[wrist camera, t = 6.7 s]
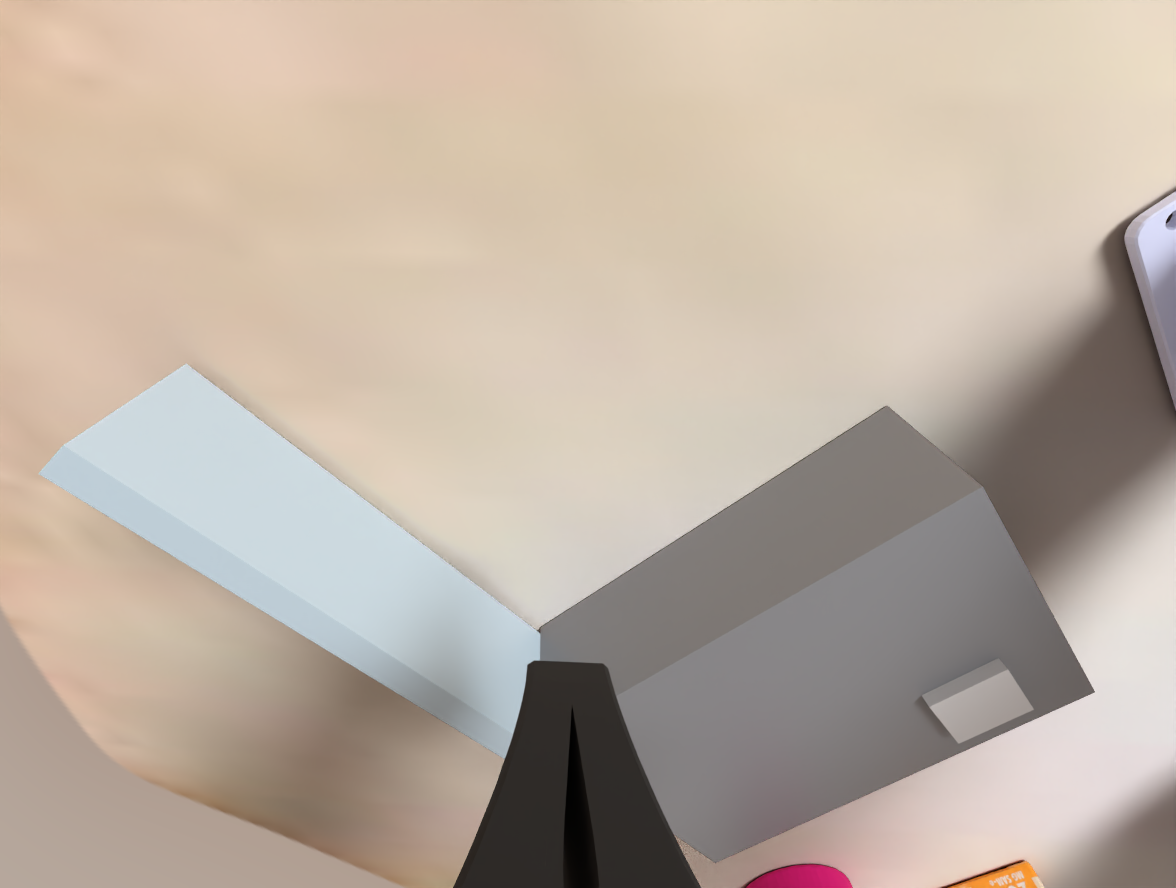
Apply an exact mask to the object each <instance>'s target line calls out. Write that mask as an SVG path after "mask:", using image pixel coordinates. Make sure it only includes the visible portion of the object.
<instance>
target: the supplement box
mask: <svg viewBox="0 0 1176 888" xmlns="http://www.w3.org/2000/svg"><path fill="white" fill-rule="evenodd" d="M948 888H1045V887H1044V885H1043V884H1042V882H1041V881H1040V879H1039V878H1038V876H1037V875H1036V873H1035V871H1034V870H1033V868H1032V866H1031V865H1030V864H1029V863H1028V862H1027V861H1024V862H1021V863H1018V864H1015V865H1012V866H1009V867H1007V868H1005V869H1001V870H998V871H995V872H992V873H989V874H986V875H983V876H980V877H977V878H974V879H971V880H968V881H965V882H962V883H960V884H957V885H954V886H951V887H948Z"/></svg>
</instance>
